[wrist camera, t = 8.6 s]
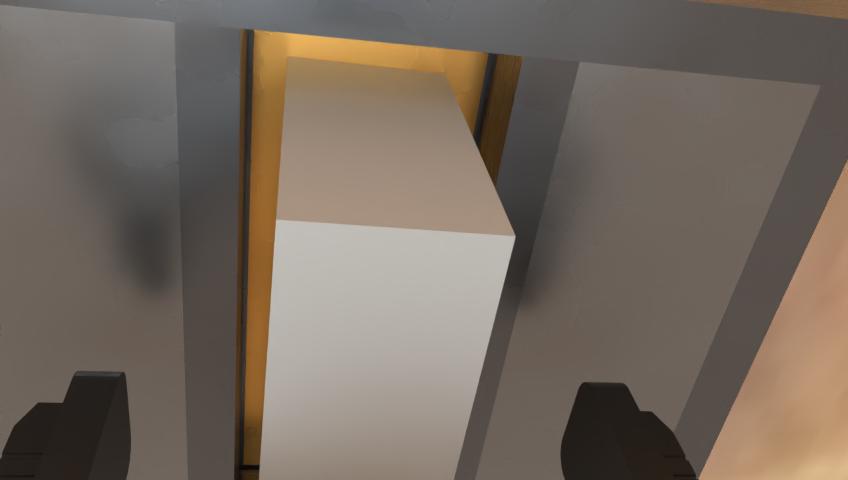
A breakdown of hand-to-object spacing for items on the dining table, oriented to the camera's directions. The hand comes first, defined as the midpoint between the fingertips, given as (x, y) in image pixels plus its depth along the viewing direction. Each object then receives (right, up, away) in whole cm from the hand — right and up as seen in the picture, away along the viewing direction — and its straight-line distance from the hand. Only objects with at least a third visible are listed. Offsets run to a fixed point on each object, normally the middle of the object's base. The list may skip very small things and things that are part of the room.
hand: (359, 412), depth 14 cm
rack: (-1, +2, +4) cm, 5 cm away
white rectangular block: (-1, +2, +3) cm, 4 cm away
